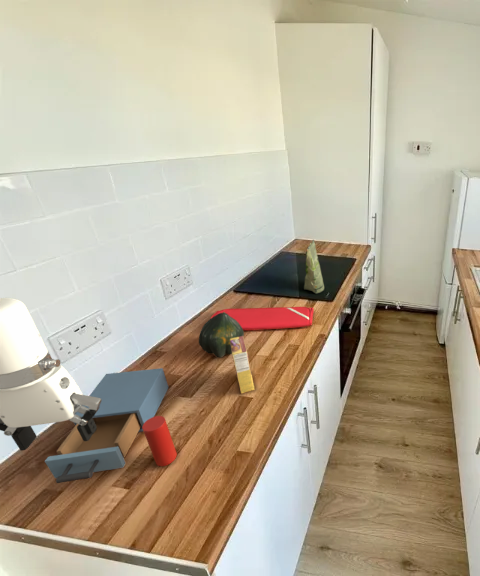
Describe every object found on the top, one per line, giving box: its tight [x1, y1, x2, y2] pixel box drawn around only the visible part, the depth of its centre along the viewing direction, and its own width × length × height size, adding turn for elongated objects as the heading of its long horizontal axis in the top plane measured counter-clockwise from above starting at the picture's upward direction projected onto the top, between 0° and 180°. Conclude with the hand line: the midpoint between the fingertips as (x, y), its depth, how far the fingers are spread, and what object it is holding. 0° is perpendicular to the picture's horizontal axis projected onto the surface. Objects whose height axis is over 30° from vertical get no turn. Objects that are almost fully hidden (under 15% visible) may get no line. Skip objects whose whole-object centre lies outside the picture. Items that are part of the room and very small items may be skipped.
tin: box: [142, 415, 178, 467], centre depth 77 cm, size 4×4×12 cm
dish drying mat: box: [209, 306, 315, 332], centre depth 136 cm, size 16×41×4 cm, turn 98°
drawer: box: [44, 413, 141, 484], centre depth 78 cm, size 20×13×6 cm
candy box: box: [230, 336, 255, 395], centre depth 101 cm, size 9×4×15 cm, turn 28°
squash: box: [198, 312, 245, 359], centre depth 117 cm, size 14×15×15 cm
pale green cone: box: [303, 239, 325, 294], centre depth 161 cm, size 11×12×25 cm
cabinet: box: [72, 367, 170, 433], centre depth 90 cm, size 17×15×8 cm
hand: (60, 439), depth 62 cm, fingers open, 9 cm apart
